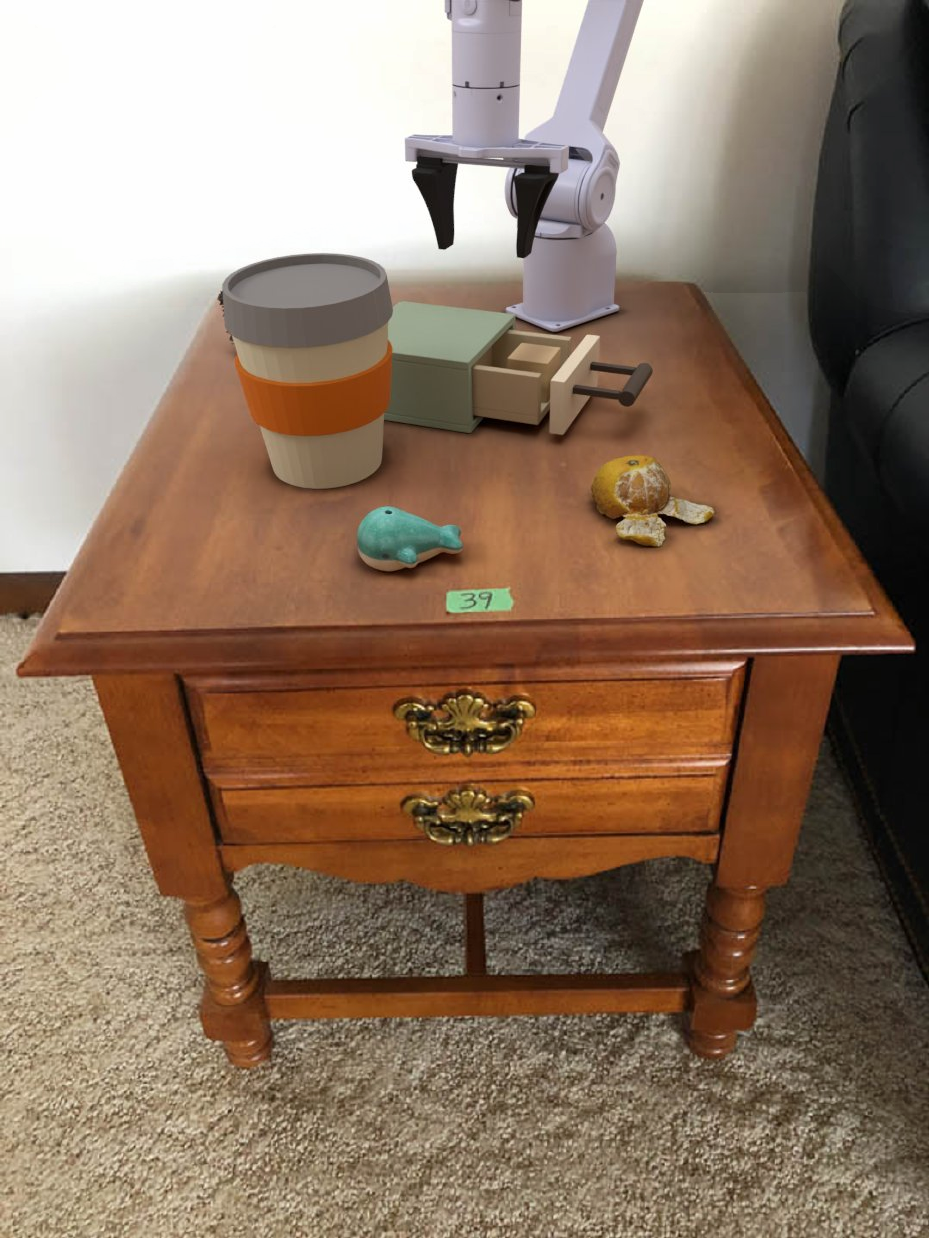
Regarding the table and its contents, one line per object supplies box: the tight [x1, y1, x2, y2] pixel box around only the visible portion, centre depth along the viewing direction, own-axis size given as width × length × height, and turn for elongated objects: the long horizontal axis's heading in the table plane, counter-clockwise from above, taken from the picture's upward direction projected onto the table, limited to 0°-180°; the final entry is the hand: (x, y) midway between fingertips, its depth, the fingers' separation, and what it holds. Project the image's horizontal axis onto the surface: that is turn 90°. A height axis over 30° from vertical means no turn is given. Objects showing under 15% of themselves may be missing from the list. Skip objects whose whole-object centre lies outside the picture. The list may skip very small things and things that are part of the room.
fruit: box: [590, 454, 715, 547], centre depth 75 cm, size 8×8×4 cm
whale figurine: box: [356, 505, 464, 572], centre depth 71 cm, size 6×7×4 cm
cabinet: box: [384, 300, 517, 434], centre depth 92 cm, size 11×11×6 cm
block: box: [507, 343, 561, 403], centre depth 88 cm, size 4×4×4 cm
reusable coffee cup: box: [221, 252, 394, 490], centre depth 80 cm, size 13×13×15 cm
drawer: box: [471, 329, 653, 436], centre depth 88 cm, size 16×10×5 cm, turn 68°
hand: (484, 251), depth 94 cm, fingers open, 7 cm apart
